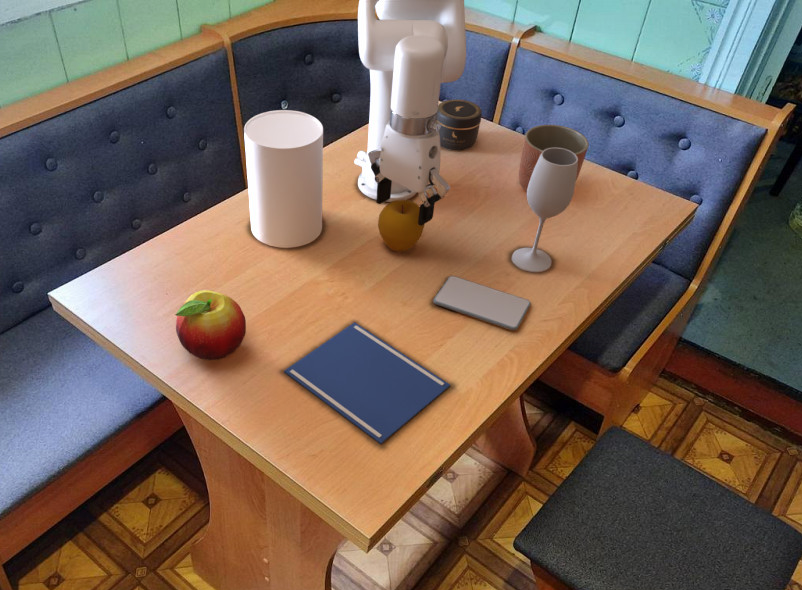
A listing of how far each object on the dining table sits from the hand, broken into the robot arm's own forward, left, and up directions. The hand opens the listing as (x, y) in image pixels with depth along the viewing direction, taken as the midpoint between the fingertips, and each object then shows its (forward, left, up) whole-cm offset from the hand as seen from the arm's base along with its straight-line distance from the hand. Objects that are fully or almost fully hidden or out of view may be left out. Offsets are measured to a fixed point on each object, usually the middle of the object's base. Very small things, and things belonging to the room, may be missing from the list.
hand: (403, 211), depth 130 cm
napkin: (+19, -30, -8) cm, 36 cm away
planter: (+8, +37, -8) cm, 39 cm away
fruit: (-3, -42, -8) cm, 42 cm away
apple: (0, 0, -8) cm, 8 cm away
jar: (-17, +39, -8) cm, 44 cm away
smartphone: (+21, -3, -8) cm, 22 cm away
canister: (-19, -11, -8) cm, 24 cm away
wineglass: (+20, +14, -8) cm, 26 cm away
